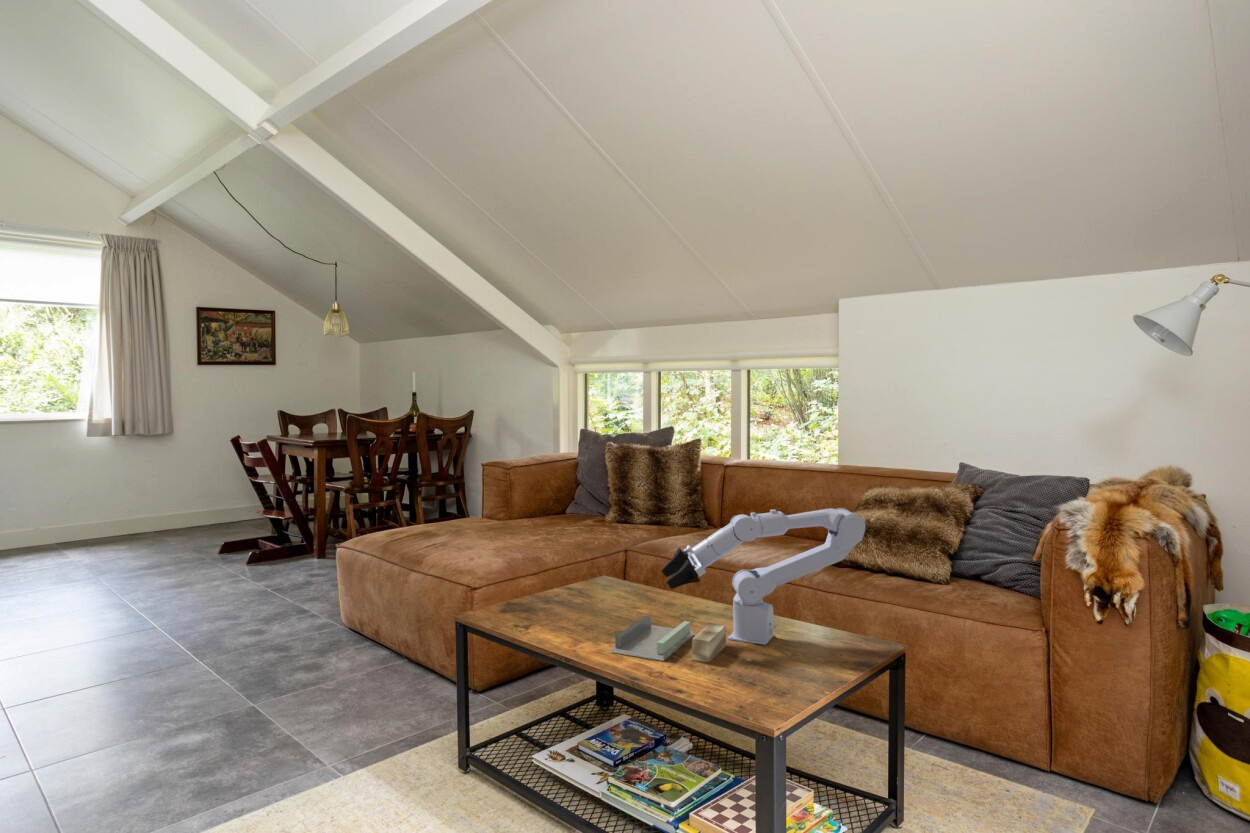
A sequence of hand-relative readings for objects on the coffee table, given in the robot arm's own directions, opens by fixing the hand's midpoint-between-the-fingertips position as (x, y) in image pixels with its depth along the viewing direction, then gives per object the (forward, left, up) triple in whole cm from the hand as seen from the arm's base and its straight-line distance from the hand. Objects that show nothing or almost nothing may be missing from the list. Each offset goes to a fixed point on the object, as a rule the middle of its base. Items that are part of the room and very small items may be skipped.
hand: (666, 579), depth 181 cm
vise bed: (+1, +5, -14) cm, 15 cm away
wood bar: (-13, +5, -15) cm, 20 cm away
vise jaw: (-4, +5, -13) cm, 15 cm away
